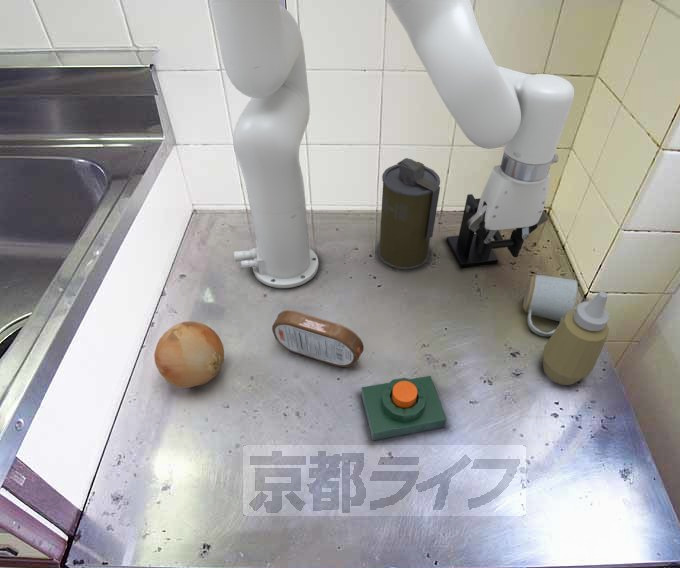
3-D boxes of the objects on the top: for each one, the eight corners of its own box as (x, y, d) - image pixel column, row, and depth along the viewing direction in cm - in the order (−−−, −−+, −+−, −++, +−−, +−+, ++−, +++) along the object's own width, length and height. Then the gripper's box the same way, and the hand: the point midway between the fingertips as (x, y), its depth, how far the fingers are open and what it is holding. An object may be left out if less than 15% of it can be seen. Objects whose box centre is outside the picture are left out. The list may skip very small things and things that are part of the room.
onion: (216, 404, 71) (200, 364, 63) (153, 394, 72) (130, 353, 64) (239, 355, 77) (227, 313, 70) (181, 345, 78) (164, 303, 71)
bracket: (496, 264, 96) (512, 211, 87) (460, 268, 95) (472, 215, 85) (480, 237, 102) (494, 185, 93) (446, 241, 101) (456, 188, 91)
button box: (372, 440, 68) (373, 426, 65) (361, 395, 73) (362, 380, 70) (444, 427, 70) (448, 413, 67) (428, 383, 76) (431, 368, 73)
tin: (363, 361, 78) (365, 328, 72) (356, 376, 76) (357, 343, 70) (281, 336, 81) (275, 301, 74) (272, 349, 78) (266, 315, 72)
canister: (367, 253, 96) (370, 163, 82) (399, 231, 102) (408, 143, 87) (408, 278, 92) (420, 188, 77) (440, 253, 98) (456, 165, 83)
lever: (513, 249, 86) (517, 240, 84) (487, 252, 85) (491, 243, 83) (489, 206, 93) (492, 196, 91) (465, 209, 92) (468, 199, 90)
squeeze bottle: (587, 396, 75) (638, 320, 62) (536, 386, 76) (575, 309, 63) (583, 357, 81) (629, 280, 68) (535, 348, 82) (571, 270, 68)
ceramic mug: (522, 293, 91) (533, 263, 85) (565, 302, 90) (580, 272, 84) (518, 333, 84) (530, 303, 78) (564, 343, 83) (580, 314, 77)
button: (395, 410, 68) (396, 403, 66) (389, 389, 70) (390, 382, 69) (419, 405, 68) (420, 399, 67) (412, 385, 71) (413, 379, 69)
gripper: (562, 148, 77) (531, 237, 91) (465, 154, 74) (447, 246, 87) (586, 172, 72) (548, 262, 86) (482, 180, 69) (460, 273, 82)
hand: (497, 253), depth 86 cm, fingers closed on lever, 5 cm apart
